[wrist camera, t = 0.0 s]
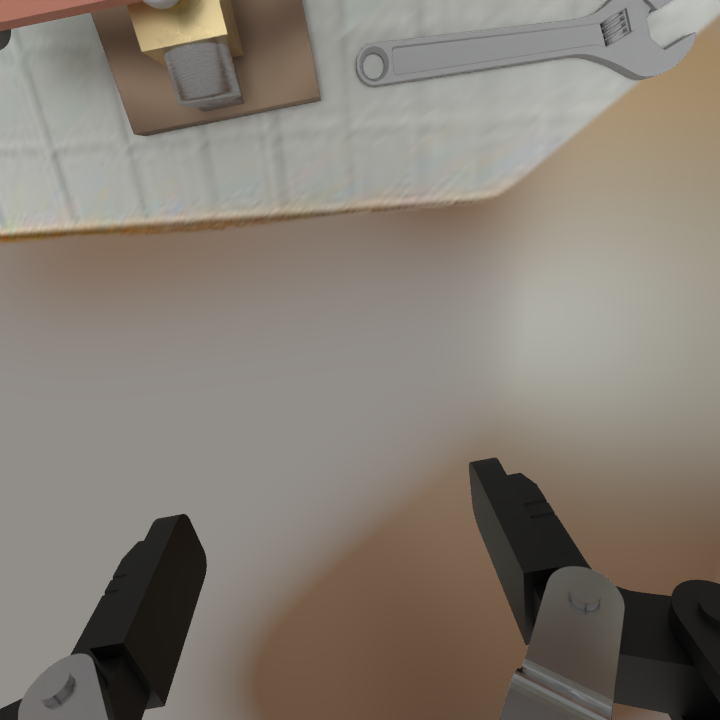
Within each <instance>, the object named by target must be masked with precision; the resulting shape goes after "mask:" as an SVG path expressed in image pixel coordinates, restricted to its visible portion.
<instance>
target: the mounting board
mask: <svg viewBox="0 0 720 720" xmlns="http://www.w3.org/2000/svg"><path fill="white" fill-rule="evenodd" d="M231 3H232V7H233V11H234V16H235V20H236V24H237V28H238V32H239V36H240V40H241V44H242V48H243V52H244V55H243V56H238V57H233V58H232V61H233V65H234V69H235V71H236V72H237V76H238V80H239V84H240V88H241V91H242V95H243V99H244V103H245V104H240V105H235V106H230V107H225V108H220V109H215V110H211V111H206V112H204V111H202V110H199V109H197V108H196V107H183V106H179V105H178V102H177V98H176V95H175V92H174V89H173V85H172V82H171V79H170V76H169V73H168V69H167V67H166V66H164V65H163V64H161V63H159V62H158V61H156V60H154V59H153V58H151V57H150V56H148V55H146V54H145V53H143V52H142V51H141V48H140V45H139V42H138V39H137V36H136V32H135V29H134V26H133V23H132V20H131V17H130V14H129V11H128V8H127V5H123V6H118V7H113V8H109V9H104V10H99V11H94V12H91V14H92V17H93V20H94V23H95V26H96V29H97V31H98V34H99V37H100V40H101V43H102V45H103V48H104V51H105V54H106V57H107V59H108V62H109V65H110V68H111V71H112V74H113V76H114V79H115V82H116V85H117V88H118V90H119V93H120V96H121V99H122V102H123V105H124V107H125V110H126V113H127V116H128V119H129V121H130V124H131V127H132V130H133V133H134V134H136V135H142V136H148V135H152V134H157V133H162V132H167V131H172V130H177V129H182V128H187V127H192V126H197V125H202V124H207V123H212V122H217V121H221V120H226V119H231V118H236V117H241V116H246V115H251V114H256V113H261V112H266V111H271V110H276V109H281V108H286V107H290V106H295V105H300V104H305V103H310V102H315V101H320V100H321V99H320V94H319V88H318V83H317V78H316V73H315V67H314V62H313V57H312V51H311V46H310V41H309V35H308V30H307V25H306V20H305V14H304V9H303V4H302V0H231Z"/></svg>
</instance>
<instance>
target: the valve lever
mask: <svg viewBox="0 0 720 720" xmlns="http://www.w3.org/2000/svg"><path fill="white" fill-rule="evenodd" d="M142 1H144V2H145V3H146V4H148V5H149V6H151V7H154V8H158V9H167V8H170V7H172V6H174V5H175V4H176V3H177V2H178V1H179V0H0V50H1V49H3V48H4V47H6V45H7V44H8V43H9V40H10V37H11V29H13V28H18V27H23V26H28V25H32V24H37V23H42V22H47V21H51V20H56V19H61V18H66V17H70V16H75V15H80V14H85V13H89V12H94V11H99V10H104V9H109V8H113V7H118V6H123V5H128V4H132V3H137V2H142Z"/></svg>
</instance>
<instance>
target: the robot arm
mask: <svg viewBox="0 0 720 720" xmlns="http://www.w3.org/2000/svg"><path fill="white" fill-rule="evenodd" d="M469 473H470V484H471V495H472V504H473V510H474V515H475V519H476V522H477V525H478V528H479V531H480V533H481V535H482V538H483V540H484V543H485V545H486V548H487V550H488V553H489V555H490V558H491V560H492V563H493V565H494V568H495V570H496V572H497V575H498V578H499V580H500V582H501V585H502V587H503V590H504V592H505V595H506V597H507V600H508V602H509V605H510V607H511V610H512V612H513V615H514V617H515V619H516V622H517V625H518V627H519V630H520V632H521V635H522V637H523V639H524V642H525V644H526V645H529V646H528V650H527V653H526V656H525V660H524V663H523V665H522V667H521V669H519V668H518V669H517V670H516V671H515V673H514V675H513V678H512V680H511V683H510V686H509V690H508V693H507V696H506V699H505V703H504V706H503V709H502V713H501V716H500V719H499V720H612V713H613V706H614V703H618V704H623V705H629V706H633V707H638V708H643V709H648V710H653V711H658V712H663V713H668V714H669V716H670V718H671V720H720V584H718V583H714V582H710V581H705V580H690V581H685V582H683V583H681V584H679V585H678V586H676V588H675V589H674V591H673V593H672V596H665V595H657V594H649V593H641V592H634V591H629V590H626V589H622V588H620V587H617V586H615V585H614V584H613V583H612V582H611V581H610V580H609V579H608V578H606V577H605V576H603V575H602V574H600V573H598V572H596V571H594V570H592V569H591V568H590V566H589V565H588V564H587V562H586V561H585V559H584V558H583V556H582V554H581V553H580V551H579V550H578V548H577V547H576V545H575V544H574V542H573V540H572V539H571V537H570V536H569V534H568V533H567V531H566V529H565V528H564V526H563V525H562V523H561V522H560V520H559V519H558V517H557V516H556V515H555V514H554V511H553V509H552V508H551V506H550V505H549V503H547V501H546V499H545V497H544V495H543V494H542V492H541V491H540V489H539V488H538V486H537V484H535V483H534V482H532V481H531V480H530V479H528V478H527V477H525V476H524V475H523V474H521V473H517V474H512V475H507V474H506V473H505V471H504V469H503V467H502V465H501V464H500V462H499V460H498V459H497V458H490V459H485V460H480V461H474V462H470V463H469ZM206 568H207V564H206V555H205V552H204V549H203V547H202V545H201V543H200V541H199V539H198V536H197V534H196V532H195V530H194V528H193V526H192V524H191V521H190V519H189V517H188V516H187V515H185V514H181V515H175V516H170V517H165V518H159V519H156V520H155V521H154V522H153V524H152V526H151V528H150V530H149V532H148V534H147V536H146V538H145V540H144V541H139V542H138V543H137V544H136V545H135V546H134V547H133V548H132V549H131V550H130V551H129V552H128V553H127V555H126V556H125V557H124V558H123V559H122V561H121V562H120V564H119V566H118V568H117V570H116V572H115V573H114V575H113V580H111V581H110V583H109V585H108V587H107V588H106V590H105V595H104V596H102V598H101V600H100V601H99V603H98V605H97V607H96V609H95V611H94V613H93V614H92V616H91V618H90V620H89V622H88V624H87V625H86V627H85V629H84V631H83V633H82V635H81V637H80V638H79V640H78V642H77V644H76V646H75V648H74V650H73V651H72V653H71V655H70V656H67V657H65V658H63V659H61V660H59V661H58V662H56V663H54V664H53V665H52V666H50V667H49V668H48V669H46V670H45V671H44V672H43V673H42V674H41V675H40V676H39V677H38V678H37V679H36V680H35V681H34V683H33V684H32V685H31V686H30V688H29V689H28V690H27V692H26V694H25V695H24V697H23V698H22V699H20V700H18V701H16V702H14V703H12V704H10V705H8V706H6V707H3V708H1V709H0V720H142V717H143V714H144V711H145V709H150V708H156V707H163V706H165V703H166V700H167V697H168V694H169V690H170V687H171V684H172V681H173V677H174V674H175V671H176V668H177V665H178V661H179V658H180V655H181V652H182V649H183V646H184V642H185V639H186V636H187V633H188V630H189V626H190V623H191V620H192V617H193V614H194V610H195V607H196V604H197V601H198V597H199V594H200V591H201V588H202V585H203V582H204V579H205V575H206Z"/></svg>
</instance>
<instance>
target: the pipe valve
mask: <svg viewBox="0 0 720 720" xmlns="http://www.w3.org/2000/svg"><path fill="white" fill-rule="evenodd" d="M127 8H128V11H129V14H130V17H131V20H132V23H133V26H134V29H135V32H136V36H137V39H138V42H139V45H140V48H141V51H142V52H143V53H145V54H146V55H148V56H150V57H151V58H153V59H154V60H156V61H158V62H159V63H161V64H163V65H164V66H166V67H167V69H168V73H169V76H170V79H171V82H172V85H173V89H174V92H175V95H176V98H177V102H178V105H179V106H183V107H196V108H197V109H199V110H202V111H204V112H206V111H211V110H215V109H220V108H225V107H230V106H235V105H240V104H245V103H244V99H243V95H242V91H241V88H240V84H239V80H238V76H237V72H236V71H235V69H234V65H233V61H232V58H233V57H238V56H243V55H244V52H243V48H242V44H241V40H240V36H239V32H238V28H237V24H236V20H235V16H234V11H233V7H232V3H231V0H179V1H178V2H177V3H176V4H175V5H174V6H172V7H170V8H167V9H158V8H154V7H151V6H149V5H148V4H146V3H145V2H144V1H142V2H137V3H132V4H128V5H127Z"/></svg>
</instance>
